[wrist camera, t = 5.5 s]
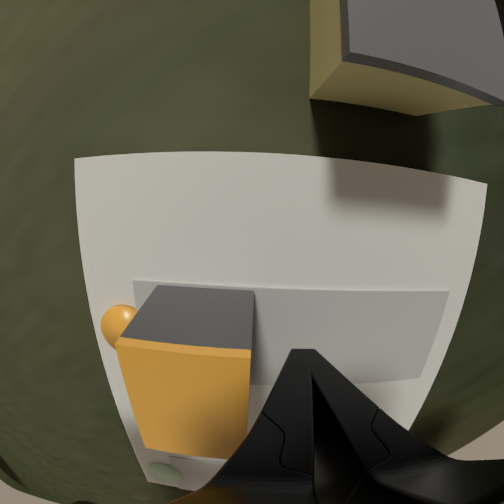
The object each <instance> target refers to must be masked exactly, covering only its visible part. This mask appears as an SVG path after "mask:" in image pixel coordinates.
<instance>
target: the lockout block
mask: <svg viewBox="0 0 504 504" xmlns="http://www.w3.org/2000/svg"><path fill="white" fill-rule="evenodd" d="M309 98H310V99H319V100H328V101H336V102H343V103H350V104H357V105H363V106H369V107H374V108H380V109H385V110H390V111H395V112H400V113H404V114H409V115H413V116H420V115H425V114H431V113H436V112H442V111H448V110H454V109H461V108H468V107H475V106H483V105H491V104H492V105H494V106H504V37H503V32H502V27H501V23H500V18H499V14H498V10H497V7H496V3H495V0H310V96H309Z"/></svg>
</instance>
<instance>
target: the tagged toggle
mask: <svg viewBox="0 0 504 504" xmlns="http://www.w3.org/2000/svg"><path fill="white" fill-rule="evenodd" d="M253 306H254V291H252V290H232V289H213V288H197V287H182V286H167V285H157V286H156V287H155V289H154V290H153V292H152V293H151V294H150V296H149V297H148V298H147V300H146V301H145V302H144V304H143V305H142V306H141V308H140V309H139V311H138V312H137V313H136V315H135V316H134V317H133V319H132V320H131V322H130V323H129V324H128V326H127V327H126V329H125V330H124V331H123V333H122V334H121V336H120V337H119V339H118V340H117V341H116V343H115V347H116V352H117V356H118V360H119V364H120V368H121V372H122V376H123V379H124V383H125V387H126V390H127V394H128V397H129V400H130V404H131V407H132V410H133V413H134V417H135V420H136V423H137V426H138V429H139V431H140V434H141V437H142V440H143V443H144V445H145V448H149V449H154V450H159V451H165V452H171V453H177V454H183V455H191V456H198V457H207V458H217V459H229V458H230V457H231V455H232V454H233V453H234V452H235V451H236V449H237V448H238V447H239V446H240V444H241V443H242V442H243V440H244V439H245V437H246V436H247V429H248V410H249V391H250V371H251V350H252V328H253Z"/></svg>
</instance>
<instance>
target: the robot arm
mask: <svg viewBox="0 0 504 504" xmlns="http://www.w3.org/2000/svg"><path fill="white" fill-rule="evenodd" d="M72 504H96V503H92V502H88V501H77V502H74V503H72ZM167 504H504V459H500V460H477V461H463V460H456V459H453V458H450V457H448V456H446V455H444V454H442V453H441V452H439V451H438V450H436V449H435V448H433V447H432V446H430V445H428V444H427V443H425V442H424V441H422V440H421V439H419V438H418V437H417V436H415V435H414V434H412V433H411V432H409V431H408V430H407V429H405V428H404V427H402V426H401V425H400V424H398V423H397V422H396V421H395V420H394V419H392V418H391V417H390V416H389V415H388V414H386V413H385V412H384V411H383V410H382V409H381V408H379V407H378V406H377V405H376V404H375V403H374V402H373V401H372V400H371V399H369V398H368V397H367V396H366V395H365V394H364V393H363V392H362V391H360V390H359V389H358V388H357V387H356V386H355V385H354V384H353V383H352V382H351V381H349V380H348V379H347V378H346V377H345V376H344V375H343V374H342V373H341V372H339V371H338V370H337V369H336V368H335V367H334V366H333V365H332V364H331V363H330V362H329V361H327V360H326V359H325V358H324V357H323V356H322V355H321V354H320V353H319V352H318V351H317V350H315V349H298V348H293V349H291V350H290V352H289V354H288V356H287V359H286V361H285V363H284V365H283V367H282V369H281V371H280V373H279V376H278V378H277V380H276V382H275V384H274V386H273V388H272V390H271V392H270V394H269V396H268V398H267V400H266V402H265V404H264V406H263V408H262V410H261V412H260V414H259V415H258V417H257V419H256V421H255V423H254V425H253V426H252V428H251V430H250V431H249V433H248V435H247V436H246V437H245V439H244V440H243V442H242V443H241V444H240V446H239V447H238V448H237V449H236V451H235V452H234V453H233V454H232V455H231V457H230V458H229V459H228V460H227V461H226V463H225V464H224V465H223V466H222V467H221V468H220V470H219V471H218V472H217V473H216V474H215V475H214V476H213V477H212V478H211V479H210V480H209V481H208V482H207V483H206V484H205V485H204V486H202V487H201V488H200V489H198V490H196V491H194V492H192V493H190V494H187V495H185V496H183V497H181V498H179V499H176V500H174V501H172V502H169V503H167Z"/></svg>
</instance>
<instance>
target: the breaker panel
mask: <svg viewBox="0 0 504 504" xmlns="http://www.w3.org/2000/svg"><path fill="white" fill-rule="evenodd" d="M75 191H76V208H77V220H78V231H79V241H80V249H81V257H82V264H83V271H84V277H85V283H86V289H87V294H88V300H89V305H90V310H91V315H92V319H93V324H94V328H95V332H96V337H97V341H98V345H99V349H100V352H101V356H102V360H103V363H104V367H105V370H106V374H107V377H108V381H109V384H110V387H111V390H112V393H113V396H114V399H115V402H116V405H117V408H118V411H119V414H120V416H121V419H122V422H123V424H124V427H125V430H126V432H127V435H128V437H129V440H130V442H131V445H132V447H133V449H134V452H135V454H136V456H137V459H138V461H139V463H140V465H141V468H142V470H143V472H144V474H145V476H146V478H147V480H148V482H153V483H158V484H163V485H168V486H174V487H178V488H179V489H184V490H191V491H196V490H198V489H200V488H201V487H202V486H204V485H205V484H206V483H207V482H208V481H209V480H210V479H211V478H212V477H213V476H214V475H215V474H216V473H217V472H218V471H219V470H220V468H221V467H222V466H223V465H224V464H225V463H226V461H227V460H228V459H217V458H207V457H198V456H191V455H183V454H177V453H171V452H165V451H159V450H154V449H149V448H145V445H144V443H143V440H142V437H141V434H140V431H139V429H138V426H137V423H136V420H135V417H134V413H133V410H132V407H131V404H130V400H129V397H128V394H127V390H126V387H125V383H124V379H123V376H122V372H121V368H120V364H119V360H118V356H117V352H116V347H115V343H116V341H117V340H118V339H119V337H120V336H121V334H122V333H123V331H124V330H125V329H126V327H127V326H128V324H129V323H130V322H131V320H132V319H133V317H134V316H135V315H136V313H137V312H138V311H139V309H140V308H141V306H142V305H143V304H144V302H145V301H146V300H147V298H148V297H149V296H150V294H151V293H152V292H153V290H154V289H155V287H156V286H157V285H167V286H182V287H197V288H213V289H232V290H252V291H254V306H253V328H252V350H251V371H250V391H249V410H248V429H247V435H248V433H249V431H250V430H251V428H252V426H253V425H254V423H255V421H256V419H257V417H258V415H259V414H260V412H261V410H262V408H263V406H264V404H265V402H266V400H267V398H268V396H269V394H270V392H271V390H272V388H273V386H274V384H275V382H276V380H277V378H278V376H279V373H280V371H281V369H282V367H283V365H284V363H285V361H286V359H287V356H288V354H289V352H290V350H291V349H293V348H298V349H315V350H317V351H318V352H319V353H320V354H321V355H322V356H323V357H324V358H325V359H326V360H327V361H329V362H330V363H331V364H332V365H333V366H334V367H335V368H336V369H337V370H338V371H339V372H341V373H342V374H343V375H344V376H345V377H346V378H347V379H348V380H349V381H351V382H352V383H353V384H354V385H355V386H356V387H357V388H358V389H359V390H360V391H362V392H363V393H364V394H365V395H366V396H367V397H368V398H369V399H371V400H372V401H373V402H374V403H375V404H376V405H377V406H378V407H379V408H381V409H382V410H383V411H384V412H385V413H386V414H388V415H389V416H390V417H391V418H392V419H394V420H395V421H396V422H397V423H398V424H400V425H401V426H402V427H404V428H405V429H407V430H408V431H409V429H410V427H411V425H412V423H413V422H414V420H415V418H416V416H417V414H418V412H419V410H420V408H421V407H422V405H423V403H424V401H425V399H426V397H427V395H428V392H429V390H430V388H431V386H432V384H433V382H434V380H435V377H436V375H437V373H438V371H439V368H440V366H441V364H442V361H443V359H444V356H445V354H446V351H447V349H448V346H449V343H450V341H451V338H452V335H453V333H454V330H455V327H456V324H457V321H458V318H459V315H460V312H461V309H462V306H463V302H464V299H465V296H466V292H467V289H468V285H469V281H470V278H471V274H472V270H473V266H474V261H475V257H476V252H477V248H478V243H479V237H480V232H481V226H482V220H483V214H484V207H485V200H486V191H487V184H485V183H481V182H477V181H472V180H468V179H463V178H459V177H454V176H449V175H444V174H439V173H434V172H429V171H423V170H418V169H412V168H406V167H400V166H393V165H386V164H379V163H372V162H364V161H356V160H347V159H338V158H328V157H317V156H305V155H291V154H275V153H253V152H158V153H137V154H121V155H108V156H96V157H86V158H76V159H75Z"/></svg>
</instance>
